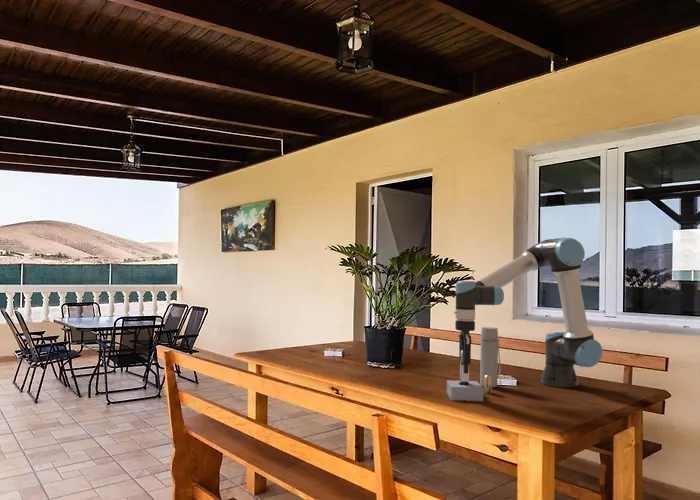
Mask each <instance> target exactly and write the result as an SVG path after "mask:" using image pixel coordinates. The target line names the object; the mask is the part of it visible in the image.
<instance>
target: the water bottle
mask: <svg viewBox="0 0 700 500" xmlns="http://www.w3.org/2000/svg"><path fill="white" fill-rule="evenodd" d="M480 331H481V332H480V337H479V338H480V364H479V366H480V370H479V371H480V376H479V378H480V380H479V382H480V383H479V384H480V385H481V386H482V387H483V388H484V377H485V375H492V389H493V387H494V388H496V387H497V386H498V377H499V375H501V370H502V369H501V368H502V367H501V357H500V348H499V345H500V344H499V342H500V339H499V332H498V331H499V330H498V328H497V327H494V326H493V327H492V326H484V327H483V326H482V327H481V330H480ZM498 366H499V370H498ZM498 371H499V372H498Z"/></svg>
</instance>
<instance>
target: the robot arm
mask: <svg viewBox="0 0 700 500" xmlns="http://www.w3.org/2000/svg"><path fill="white" fill-rule="evenodd" d="M585 254H586V253H585V249H584V246H583V244H582V243H581V242H580V241H578V240H577V239H576V238H572V237H560V238H559V237H558V238H550V239H544V240H542V241H539V242H538V243H536V244H534V245H532V246H530V247H529V248H527V249H526V250H524V251H523V252H522V253H521V255H520V256H518V257H517V258H515V259H513V260H512V261H509V262H508V263H506V264H504V265H503V266H501V267H499V268H497V269H496V270H494V271H492V272H491V273H488V274H487V275H485V276H484V277H482V278H480V279H478V280H476V281H473V280H458V281H456V283H455V311H454V312H453V314H454V315H455V319H456V320H455V326H454V327H455V330H456V331H460V334H459V335H458V340H459V341H458V343H459V349H458V350H459V354H458V355H459V357H458V358H459V363H460V364H459V371H460V372H459V379H460V380H461V365H462V381H464V382H469V381H470V365H471V360H472V358H471V357H472V356H471V354H472V352H471V351H472V341H473V340H472V335H471V334H470V332H473V331H475V330H476V322H475V320H476V306H499V305H501V304H503V302H504V299H505V294H504V290H503V287H505V286H507V285H508V284H510V283H512V282H513V281H515V280H517V279H518V278H521V277H522V276H523V275H525V274H527V273H529V272H530V271H537V270H539V269H541V268H544V267H550V270H551V271H550V272H551V273H552V274H553V275H554V276H556V281H557V282H556V283H557V287H558V294H559V297H560V303H561V309H562V314H563V315H562V316H563V322H564V324H565V325H564V326H565V331H561V332H559V331H558V332H557V331H555V332H553V331H552V332H550V331H549V332H547V333H546V335H545V340H544V342H545V366H544V368H543V372H542V375H541V380H540V381H541V382H540V383H542V384H543V385H545V386H549V387H556V388H577V387H579V379H578V377H577V373H576V371H575V366H577V367H581V368H583V367H584V368H593V367H594V366H596V365H597V364H598V363H599V361H600V360H601V359H602V356H603V347H602V345H601V343H600V342H599V341H597V340H596V339H595V337H594V332H593V331H592V330H591V329H589V325H588V320H587V316H586V309H585V303H584V298H583V294H582V293H583V292H582V287H581V281H580V277H579V271H580V270H581V269H582V263H583V261H584V259H585ZM461 350H462V353H463V362H462V363H461Z"/></svg>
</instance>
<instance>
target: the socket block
mask: <svg viewBox="0 0 700 500" xmlns="http://www.w3.org/2000/svg"><path fill="white" fill-rule="evenodd" d="M460 381H461V380H450V379H448V380H446V395H447V396H448V397H449V399H450V400H451V401H461V400H462V401H463V402H464V400H465V402H466V401H467V402H484V387H483V386H481V384H480V383H479V382H478V381H477V380H469V382H468V385H460Z"/></svg>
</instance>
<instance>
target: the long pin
mask: <svg viewBox="0 0 700 500" xmlns="http://www.w3.org/2000/svg"><path fill="white" fill-rule="evenodd" d="M462 362H463V353H462V350H461V362H460V363H462ZM459 381H460V385H468V382H464V381H462V365H461V379H460V380H459Z"/></svg>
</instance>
